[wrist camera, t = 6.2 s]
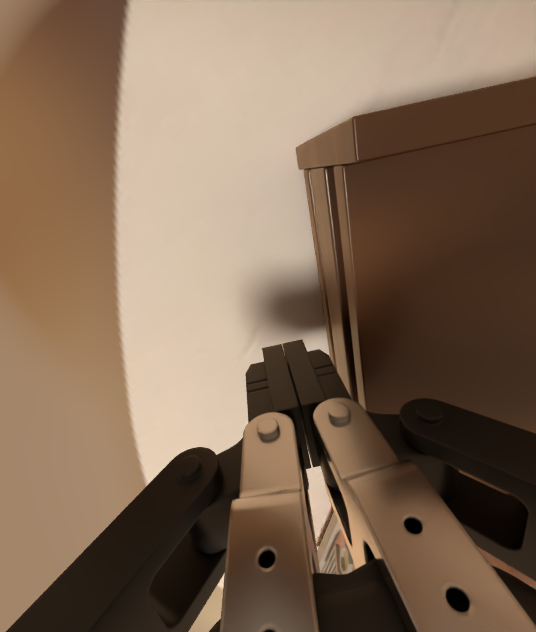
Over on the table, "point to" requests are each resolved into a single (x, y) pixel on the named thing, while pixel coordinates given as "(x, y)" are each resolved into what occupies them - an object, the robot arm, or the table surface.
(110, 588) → the robot arm
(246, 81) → the table surface
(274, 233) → the table surface
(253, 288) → the table surface
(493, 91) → the brown wooden cabinet
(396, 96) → the table surface
